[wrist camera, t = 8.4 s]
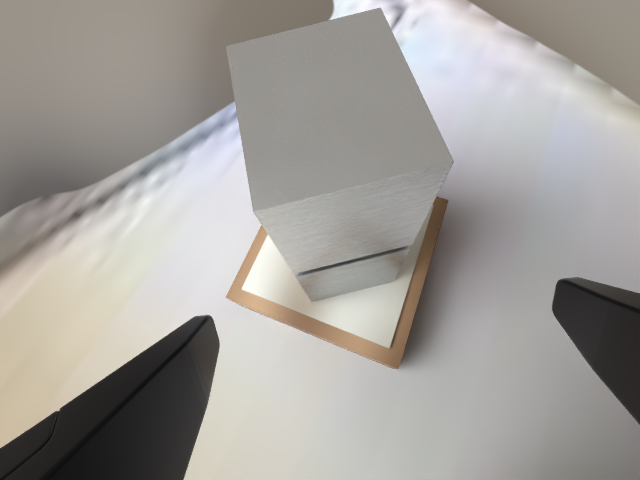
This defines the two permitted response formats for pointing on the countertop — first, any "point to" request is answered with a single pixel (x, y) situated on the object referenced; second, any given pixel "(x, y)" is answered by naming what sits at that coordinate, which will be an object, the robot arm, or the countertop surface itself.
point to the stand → (341, 297)
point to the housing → (337, 149)
